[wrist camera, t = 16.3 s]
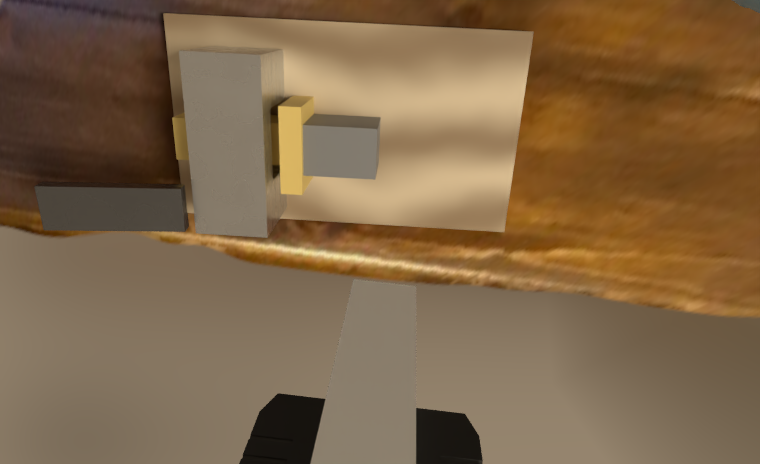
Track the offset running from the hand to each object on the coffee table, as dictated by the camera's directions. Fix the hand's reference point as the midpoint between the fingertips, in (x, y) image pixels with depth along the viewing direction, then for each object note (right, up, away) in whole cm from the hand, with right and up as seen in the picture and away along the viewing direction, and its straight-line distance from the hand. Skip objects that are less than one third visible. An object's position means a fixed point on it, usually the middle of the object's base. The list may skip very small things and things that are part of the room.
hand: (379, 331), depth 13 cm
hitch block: (-10, +11, +28) cm, 31 cm away
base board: (-3, +11, +27) cm, 29 cm away
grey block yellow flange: (-7, +10, +27) cm, 30 cm away
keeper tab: (-18, +4, +22) cm, 29 cm away
